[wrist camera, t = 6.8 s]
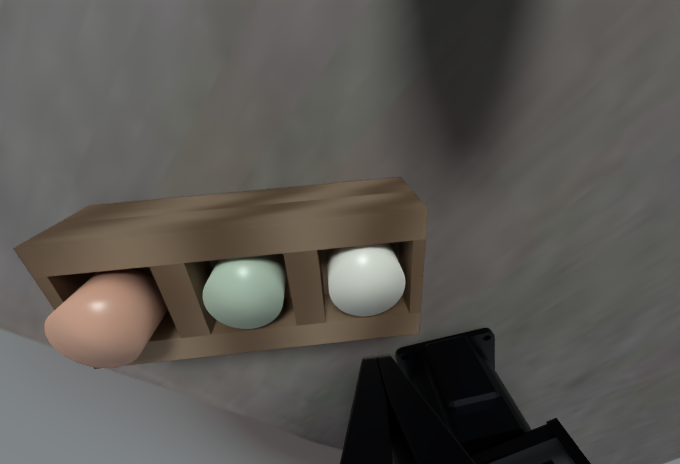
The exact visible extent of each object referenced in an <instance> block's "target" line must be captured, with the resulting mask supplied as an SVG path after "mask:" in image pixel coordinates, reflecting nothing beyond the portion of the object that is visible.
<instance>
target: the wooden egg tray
mask: <svg viewBox="0 0 680 464" xmlns="http://www.w3.org/2000/svg"><path fill="white" fill-rule="evenodd" d="M427 215H428V208H427V207H426V206H425V205H424V204H423V203H422V201H421V200H420V199H419V198H418V197H417V196H416V194H415V193H414V192H413V191H412V190H411V189H410V187H409V186H408V185H407V184H406V183H405V182H404V181H403V179H402V178H401V177H397V178H386V179H375V180H364V181H353V182H342V183H332V184H321V185H310V186H299V187H288V188H277V189H266V190H255V191H244V192H233V193H222V194H211V195H200V196H189V197H178V198H167V199H157V200H146V201H135V202H124V203H113V204H102V205H91V206H87V207H85V208H84V209H82V210H80V211H78V212H77V213H75V214H73V215H71V216H70V217H68V218H66V219H64V220H63V221H61V222H59V223H57V224H55V225H54V226H52V227H50V228H48V229H47V230H45V231H43V232H41V233H40V234H38V235H36V236H34V237H33V238H31V239H29V240H27V241H25V242H24V243H22V244H20V245H18V246H17V247H15V248H13V249H14V250H15V252H16V253H17V255H18V256H19V258H20V259H21V261H22V262H23V264H24V265H25V267H26V268H27V270H28V271H29V273H30V274H31V276H32V277H33V279H34V280H35V281H36V283H37V284H38V286H39V287H40V289H41V290H42V292H43V293H44V295H45V296H46V298H47V299H48V301H49V302H50V304H51V305H52V307H53V308H54V310H56V309H57V308H58V307H59V306H60V305H61V304H62V303H63V302H65V301H66V300H67V299H68V298H69V297H70V296H71V295H72V294H74V293H75V292H76V291H77V290H78V289H79V288H80V287H81V286H82V285H84V284H85V283H86V282H87V281H88V280H89V279H90V278H91V277H92V276H94V275H95V274H96V273H98V272H100V271H110V270H120V269H132V270H136V271H139V272H141V273H144V274H146V275H147V276H149V277H151V278H152V279H154V280H155V281H156V283H157V285H158V287H159V290H160V292H161V294H162V296H163V299H164V301H165V303H166V306H167V308H168V310H167V312H166V314H165V316H164V317H163V319H162V320H161V322H160V324H159V325H158V327H157V328H156V330H155V332H154V333H153V335H152V336H151V338H150V339H149V341H148V343H147V344H146V346H145V347H144V349H143V351H142V352H141V354H140V355H139V357H138V358H137V359H136V360H134V361H133V362H131V363H129V364H127V365H135V364H144V363H153V362H162V361H172V360H181V359H190V358H199V357H208V356H217V355H226V354H235V353H244V352H254V351H263V350H272V349H281V348H290V347H299V346H308V345H317V344H326V343H335V342H345V341H354V340H363V339H372V338H381V337H390V336H399V335H408V334H417V333H419V325H420V311H421V298H422V284H423V270H424V256H425V242H426V229H427ZM383 243H390V244H391V246H392V248H393V251H394V253H395V255H396V257H397V259H398V262H399V264H400V266H401V268H402V270H403V273H404V276H405V289H404V292H403V294H402V296H401V298H400V299H399V300H398V302H397V303H396V304H395V305H394V306H392V307H391V308H390V309H388V310H386V311H384V312H382V313H380V314H377V315H372V316H354V315H350V314H348V313H345V312H343V311H342V310H340V309H339V308H338V307H337V306H336V305H335V304H334V303H333V301H332V300H331V297H330V295H329V286H328V271H327V254H328V250H329V249H332V248H342V247H352V246H362V245H372V244H383ZM271 254H282V255H283V257H284V260H285V265H286V271H287V279H286V286H285V294H284V301H283V306H282V309H281V312H280V313H279V315H278V316H277V317H276V318H275V319H274V320H273V321H272V322H270V323H268V324H266V325H264V326H262V327H258V328H253V329H240V328H234V327H230V326H227V325H225V324H223V323H221V322H219V321H218V320H216V319H215V318H214V317H213V316H212V315H211V314H210V313H209V312H208V311H207V309H206V307H205V305H204V302H203V289H204V286H205V284H206V282H207V280H208V278H209V277H210V275H211V273H212V271H213V269H214V267H215V265H216V263H217V261H218V260H221V259H231V258H241V257H251V256H261V255H271ZM125 366H126V365H125ZM93 368H94V369H98V368H96V367H93Z"/></svg>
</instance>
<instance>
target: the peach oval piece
mask: <svg viewBox="0 0 680 464" xmlns="http://www.w3.org/2000/svg"><path fill="white" fill-rule="evenodd" d="M167 310H168V308H167V306H166V303H165V301H164V299H163V296H162V294H161V292H160V290H159V287H158V285H157V283H156V281H155V280H154V279H152V278H151V277H149V276H147V275H146V274H144V273H141V272H139V271H136V270H132V269H120V270H110V271H100V272H98V273H96V274H95V275H94V276H92V277H91V278H90V279H89V280H88V281H87V282H86V283H85V284H84V285H82V286H81V287H80V288H79V289H78V290H77V291H76V292H75V293H74V294H72V295H71V296H70V297H69V298H68V299H67V300H66V301H65V302H63V303H62V304H61V305H60V306H59V307H58V308H57V309H56V310H55V311H53V312H52V313H51V314H50V315H49V316H48V318H47V320H46V322H45V334H46V337H47V339H48V341H49V342H50V344H51V345H52V346H53V347H54V348H55V349H56V350H57V351H58V352H60V353H61V354H62V355H64V356H65V357H67V358H69V359H71V360H73V361H75V362H77V363H80V364H83V365H87V366H90V367H96V368H116V367H121V366H125V365H127V364H129V363H131V362H133V361H134V360H136V359H137V358H138V357H139V355H140V354H141V352H142V351H143V349H144V347H145V346H146V344H147V343H148V341H149V339H150V338H151V336H152V335H153V333H154V332H155V330H156V328H157V327H158V325H159V324H160V322H161V320H162V319H163V317H164V316H165V314H166V312H167Z"/></svg>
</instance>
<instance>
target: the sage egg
mask: <svg viewBox="0 0 680 464" xmlns="http://www.w3.org/2000/svg"><path fill="white" fill-rule="evenodd" d="M286 279H287V271H286V265H285V260H284V257H283V255H282V254H271V255H261V256H251V257H241V258H231V259H221V260H218V261H217V263H216V265H215V267H214V269H213V271H212V273H211V275H210V277H209V278H208V280H207V282H206V284H205V286H204V289H203V302H204V305H205V307H206V309H207V311H208V312H209V313H210V314H211V315H212V316H213V317H214V318H215V319H216V320H218V321H219V322H221V323H223V324H225V325H227V326H230V327H234V328H240V329H253V328H258V327H262V326H264V325H266V324H268V323H270V322H272V321H273V320H274V319H275V318H276V317H277V316H278V315H279V313H280V312H281V309H282V306H283V301H284V294H285V286H286Z"/></svg>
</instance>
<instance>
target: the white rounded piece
mask: <svg viewBox="0 0 680 464" xmlns="http://www.w3.org/2000/svg"><path fill="white" fill-rule="evenodd" d="M327 271H328V286H329V295H330V297H331V300H332V301H333V303H334V304H335V305H336V306H337V307H338V308H339V309H340V310H342V311H343V312H345V313H348V314H350V315H354V316H372V315H377V314H380V313H382V312H384V311H386V310H388V309H390V308H391V307H392V306H394V305H395V304H396V303H397V302H398V300H399V299H400V298H401V296H402V294H403V292H404V289H405V276H404V273H403V270H402V268H401V266H400V264H399V262H398V259H397V257H396V255H395V253H394V251H393V248H392V246H391V244H390V243H383V244H372V245H362V246H352V247H342V248H332V249H329V250H328V254H327Z"/></svg>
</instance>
